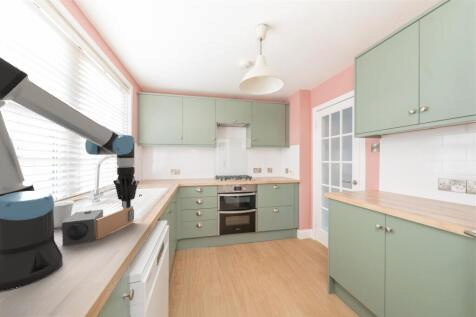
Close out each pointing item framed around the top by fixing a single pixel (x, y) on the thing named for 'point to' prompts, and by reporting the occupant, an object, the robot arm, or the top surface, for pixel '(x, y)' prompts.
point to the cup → (62, 212)
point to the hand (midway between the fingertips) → (126, 213)
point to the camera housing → (80, 227)
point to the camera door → (114, 222)
